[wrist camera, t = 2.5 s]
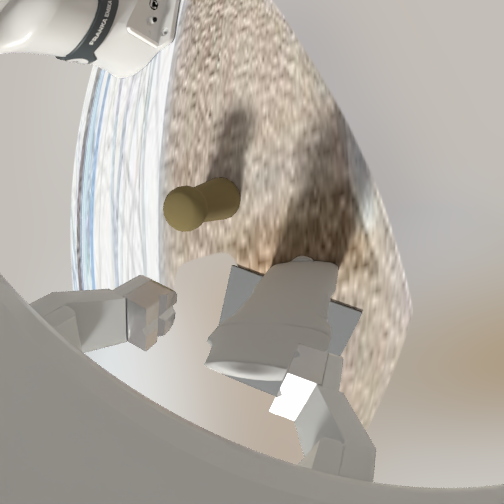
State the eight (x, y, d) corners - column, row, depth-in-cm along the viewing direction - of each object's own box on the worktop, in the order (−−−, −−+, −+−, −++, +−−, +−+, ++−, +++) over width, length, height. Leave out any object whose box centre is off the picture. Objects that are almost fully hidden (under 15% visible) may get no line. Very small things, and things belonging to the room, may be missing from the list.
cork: (245, 214, 39) (207, 232, 29) (208, 223, 42) (163, 242, 32) (233, 172, 38) (192, 176, 28) (197, 183, 40) (149, 192, 30)
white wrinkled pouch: (340, 253, 36) (321, 357, 17) (342, 282, 37) (321, 401, 18) (264, 257, 40) (178, 344, 20) (268, 284, 41) (191, 384, 21)
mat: (232, 264, 42) (231, 265, 42) (362, 311, 37) (362, 312, 37) (210, 367, 50) (209, 368, 50) (309, 406, 46) (309, 408, 45)
